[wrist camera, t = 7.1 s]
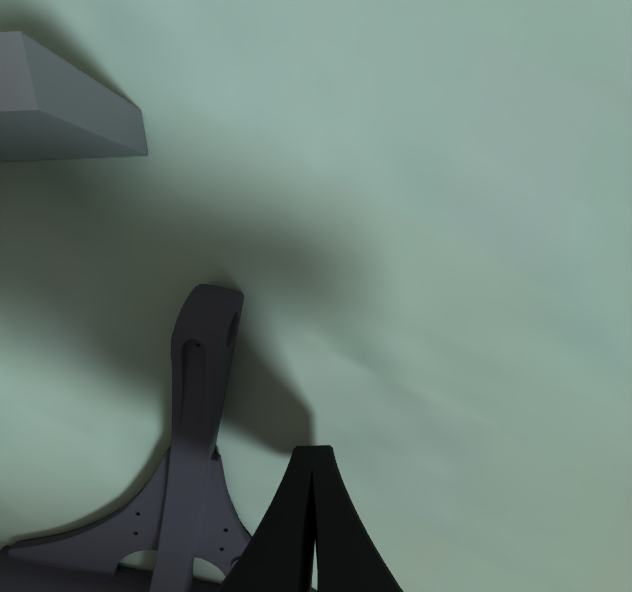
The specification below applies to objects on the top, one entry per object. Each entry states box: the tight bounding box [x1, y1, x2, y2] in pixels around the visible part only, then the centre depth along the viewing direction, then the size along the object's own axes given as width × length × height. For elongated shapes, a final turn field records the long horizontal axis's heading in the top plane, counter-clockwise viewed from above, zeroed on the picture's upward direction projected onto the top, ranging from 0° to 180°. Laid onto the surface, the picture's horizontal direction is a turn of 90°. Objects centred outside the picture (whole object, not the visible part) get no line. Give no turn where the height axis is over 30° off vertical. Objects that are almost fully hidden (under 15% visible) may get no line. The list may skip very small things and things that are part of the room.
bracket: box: [0, 284, 317, 592], centre depth 11 cm, size 14×15×3 cm
